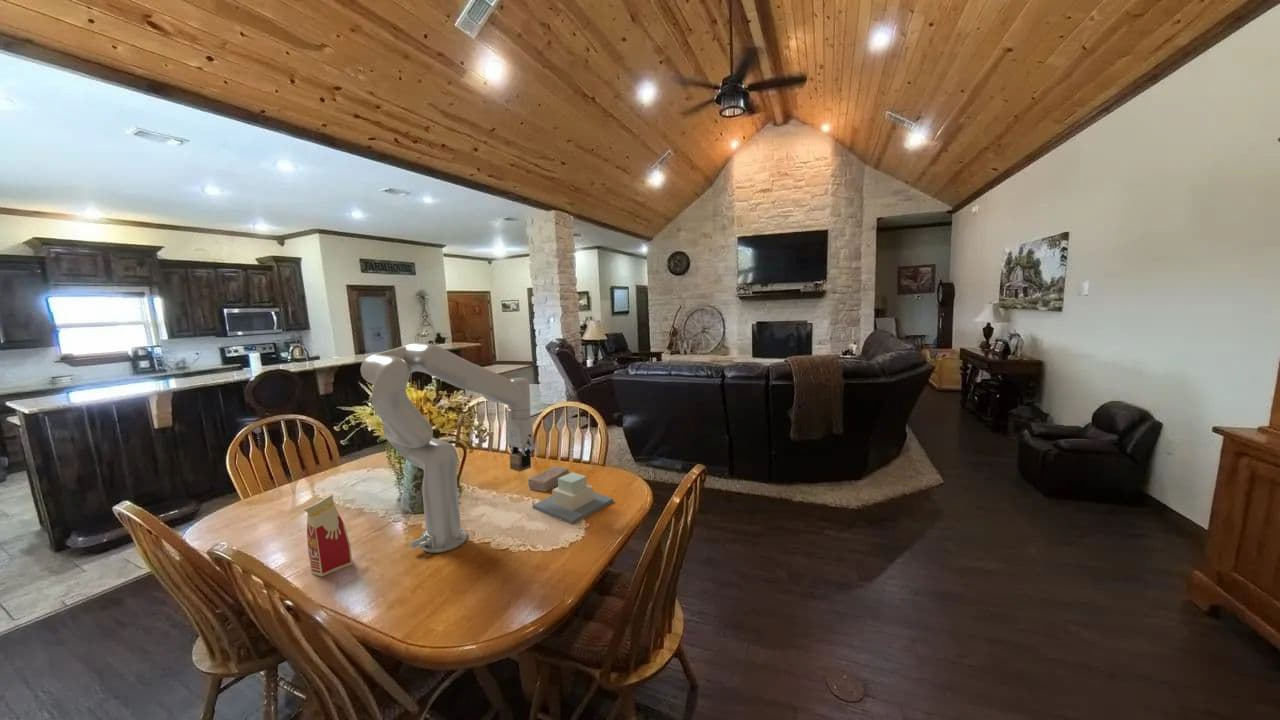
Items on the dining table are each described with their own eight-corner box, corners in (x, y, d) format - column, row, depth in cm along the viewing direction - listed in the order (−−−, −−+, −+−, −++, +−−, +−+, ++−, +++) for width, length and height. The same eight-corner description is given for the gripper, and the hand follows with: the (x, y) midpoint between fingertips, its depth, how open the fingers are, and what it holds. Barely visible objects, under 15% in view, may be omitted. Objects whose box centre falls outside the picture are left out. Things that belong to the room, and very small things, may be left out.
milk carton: (342, 552, 131) (335, 487, 129) (354, 563, 125) (346, 495, 123) (305, 567, 124) (296, 498, 122) (315, 579, 118) (306, 508, 116)
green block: (572, 494, 153) (571, 482, 152) (558, 489, 157) (557, 478, 156) (586, 487, 158) (586, 476, 158) (572, 482, 162) (572, 472, 162)
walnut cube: (519, 471, 153) (518, 457, 152) (510, 468, 156) (509, 454, 156) (531, 467, 157) (530, 453, 156) (522, 464, 160) (521, 451, 159)
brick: (554, 474, 187) (553, 464, 187) (570, 477, 183) (570, 467, 183) (527, 490, 173) (526, 478, 172) (545, 494, 169) (544, 482, 168)
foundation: (572, 524, 144) (571, 506, 144) (532, 508, 157) (531, 491, 156) (613, 501, 160) (612, 485, 159) (574, 488, 172) (573, 473, 171)
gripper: (495, 412, 157) (497, 462, 159) (526, 419, 146) (527, 472, 148) (513, 408, 163) (515, 457, 165) (544, 414, 152) (545, 466, 154)
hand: (521, 464), depth 157 cm, fingers closed on walnut cube, 4 cm apart
